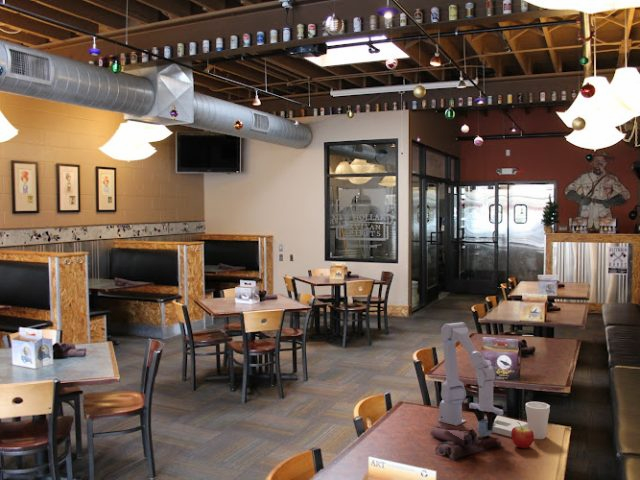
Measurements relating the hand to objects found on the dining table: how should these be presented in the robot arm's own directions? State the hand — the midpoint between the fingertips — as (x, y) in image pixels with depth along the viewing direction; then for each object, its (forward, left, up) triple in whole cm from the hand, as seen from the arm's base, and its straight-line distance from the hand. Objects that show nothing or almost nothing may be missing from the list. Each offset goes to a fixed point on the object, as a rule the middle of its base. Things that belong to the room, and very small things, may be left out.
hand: (485, 428), depth 260 cm
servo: (0, 0, -2) cm, 2 cm away
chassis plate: (0, +14, -3) cm, 14 cm away
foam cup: (+15, +15, -4) cm, 22 cm away
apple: (+16, 0, -4) cm, 16 cm away
